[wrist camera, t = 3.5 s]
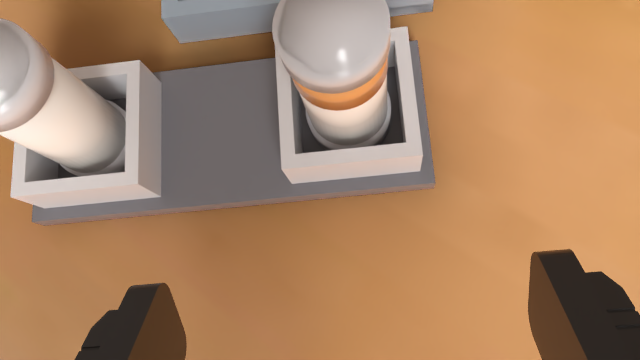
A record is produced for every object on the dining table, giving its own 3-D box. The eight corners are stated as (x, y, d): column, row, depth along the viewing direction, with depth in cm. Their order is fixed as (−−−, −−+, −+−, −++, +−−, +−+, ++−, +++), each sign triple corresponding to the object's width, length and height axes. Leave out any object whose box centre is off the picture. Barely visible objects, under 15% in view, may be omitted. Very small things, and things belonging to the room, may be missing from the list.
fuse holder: (416, 50, 28) (419, 12, 24) (433, 188, 26) (439, 167, 23) (51, 94, 30) (8, 64, 26) (44, 225, 28) (-4, 211, 25)
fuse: (141, 103, 28) (37, 11, 20) (140, 178, 27) (30, 113, 19) (68, 112, 28) (-64, 25, 20) (65, 186, 27) (-76, 126, 19)
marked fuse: (386, 75, 27) (384, -37, 18) (395, 152, 26) (396, 70, 17) (306, 84, 27) (269, -21, 19) (312, 160, 26) (274, 84, 18)
